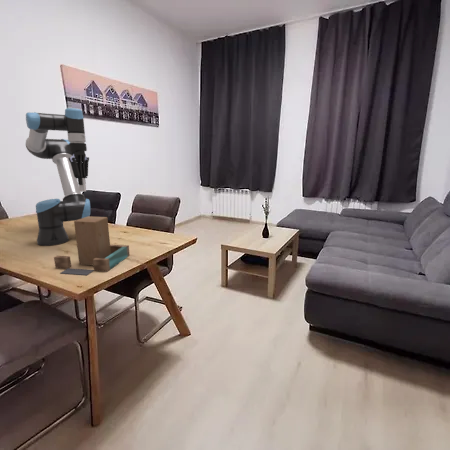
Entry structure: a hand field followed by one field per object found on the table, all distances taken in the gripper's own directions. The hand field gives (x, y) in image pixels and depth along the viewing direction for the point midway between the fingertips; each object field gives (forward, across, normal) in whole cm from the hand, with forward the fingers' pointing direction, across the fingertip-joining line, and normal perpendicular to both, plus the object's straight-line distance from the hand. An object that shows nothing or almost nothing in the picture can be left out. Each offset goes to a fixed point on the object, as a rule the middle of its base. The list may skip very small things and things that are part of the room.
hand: (83, 191), depth 145 cm
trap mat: (+29, -32, -15) cm, 46 cm away
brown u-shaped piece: (+29, -19, -14) cm, 38 cm away
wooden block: (+30, -19, -15) cm, 38 cm away
